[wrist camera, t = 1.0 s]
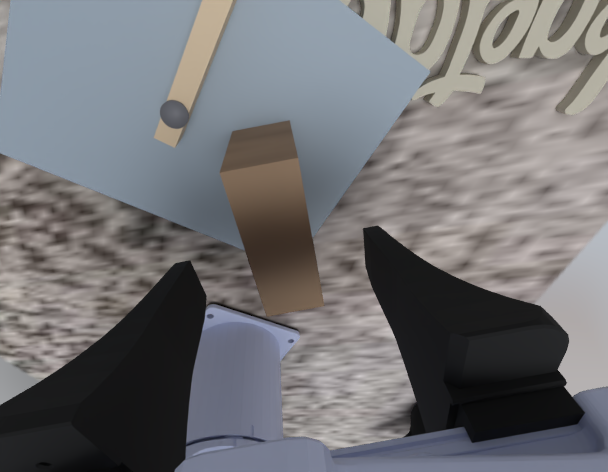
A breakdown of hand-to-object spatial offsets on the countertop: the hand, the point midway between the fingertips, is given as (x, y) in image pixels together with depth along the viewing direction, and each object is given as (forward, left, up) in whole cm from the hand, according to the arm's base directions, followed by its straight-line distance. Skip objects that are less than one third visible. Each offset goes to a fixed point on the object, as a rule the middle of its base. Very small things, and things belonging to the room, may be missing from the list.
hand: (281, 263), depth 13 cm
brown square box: (0, 0, -7) cm, 7 cm away
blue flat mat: (+2, +5, -8) cm, 9 cm away
